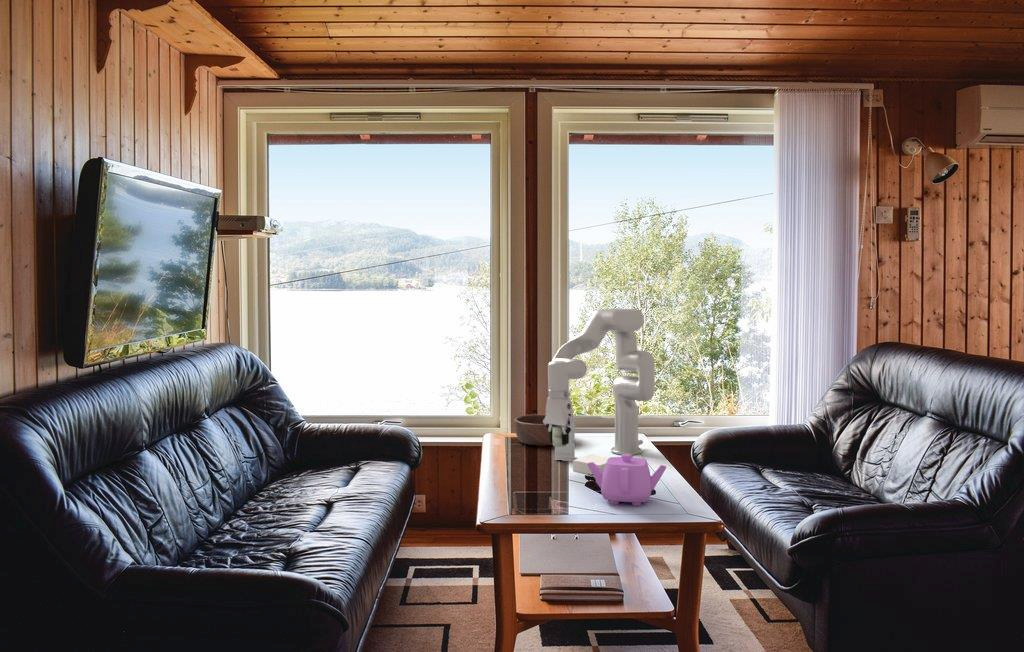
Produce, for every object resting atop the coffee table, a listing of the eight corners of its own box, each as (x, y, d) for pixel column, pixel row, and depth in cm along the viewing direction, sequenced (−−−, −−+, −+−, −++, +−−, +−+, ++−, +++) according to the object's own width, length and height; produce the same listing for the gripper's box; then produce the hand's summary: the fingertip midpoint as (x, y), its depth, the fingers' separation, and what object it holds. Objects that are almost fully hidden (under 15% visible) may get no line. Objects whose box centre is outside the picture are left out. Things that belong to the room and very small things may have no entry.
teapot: (668, 502, 238) (668, 456, 237) (626, 513, 227) (626, 464, 226) (626, 489, 253) (626, 445, 253) (585, 498, 243) (585, 452, 242)
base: (591, 464, 287) (591, 454, 287) (618, 470, 279) (618, 459, 279) (573, 470, 278) (573, 460, 278) (599, 476, 270) (599, 465, 270)
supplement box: (572, 461, 293) (572, 429, 292) (554, 460, 294) (554, 429, 294) (575, 457, 300) (575, 426, 300) (556, 456, 302) (556, 425, 301)
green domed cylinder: (558, 443, 280) (557, 424, 280) (568, 445, 277) (568, 426, 276) (549, 445, 276) (549, 427, 276) (560, 447, 273) (560, 428, 272)
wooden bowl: (518, 435, 344) (517, 413, 343) (572, 436, 340) (572, 414, 340) (510, 447, 319) (510, 423, 318) (568, 449, 316) (568, 424, 315)
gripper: (583, 395, 272) (583, 444, 274) (547, 391, 284) (547, 438, 285) (570, 398, 267) (571, 448, 268) (534, 393, 278) (535, 441, 279)
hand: (559, 442), depth 276 cm, fingers closed on green domed cylinder, 5 cm apart
